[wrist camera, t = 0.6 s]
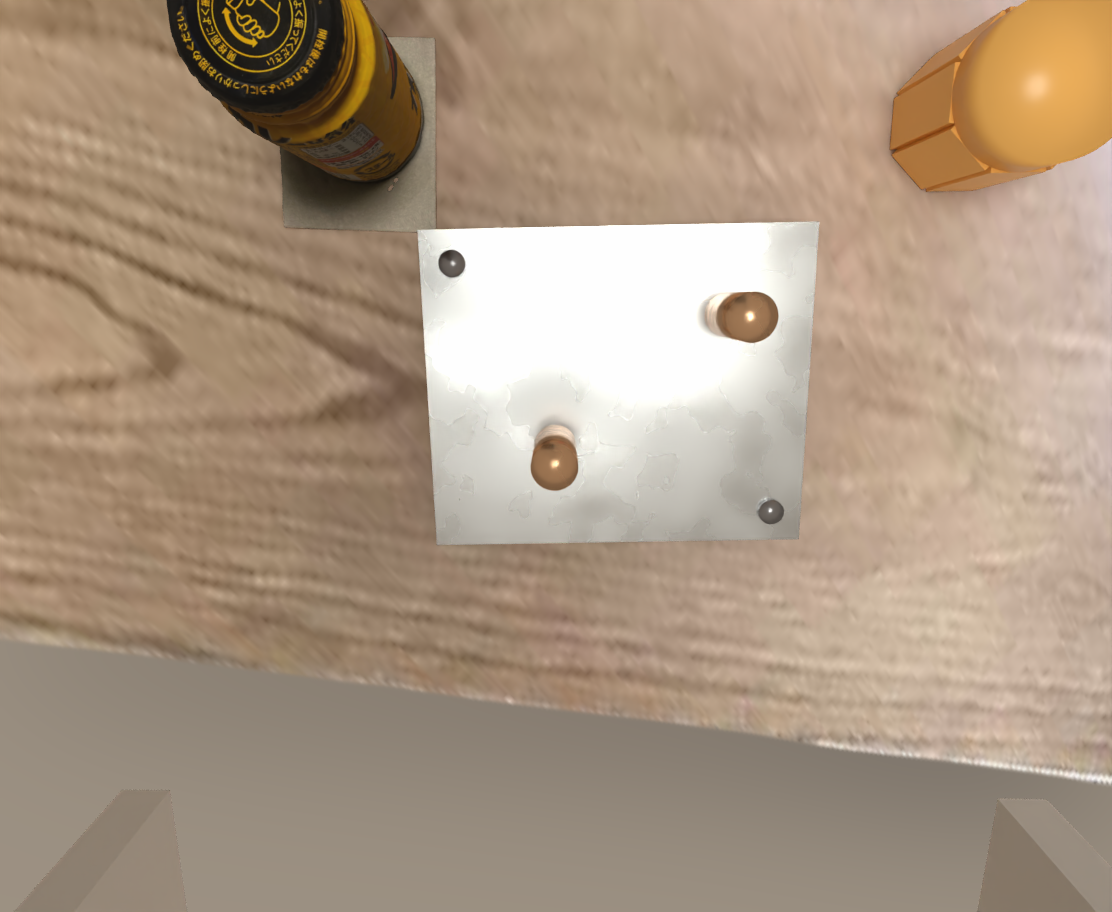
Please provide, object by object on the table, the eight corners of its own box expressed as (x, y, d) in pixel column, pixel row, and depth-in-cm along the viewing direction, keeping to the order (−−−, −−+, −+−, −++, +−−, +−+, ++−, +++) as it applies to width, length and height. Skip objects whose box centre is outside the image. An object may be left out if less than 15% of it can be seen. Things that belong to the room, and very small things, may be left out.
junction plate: (427, 234, 33) (393, 218, 26) (800, 227, 33) (862, 209, 26) (445, 528, 36) (418, 581, 30) (782, 523, 36) (834, 575, 29)
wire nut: (898, 53, 31) (992, -16, 24) (1030, 50, 31) (1161, -20, 24) (886, 192, 33) (972, 164, 26) (1012, 189, 32) (1133, 161, 26)
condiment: (435, 39, 31) (360, -116, 20) (436, 233, 33) (368, 198, 21) (276, 33, 31) (106, -125, 20) (286, 228, 33) (137, 190, 21)
